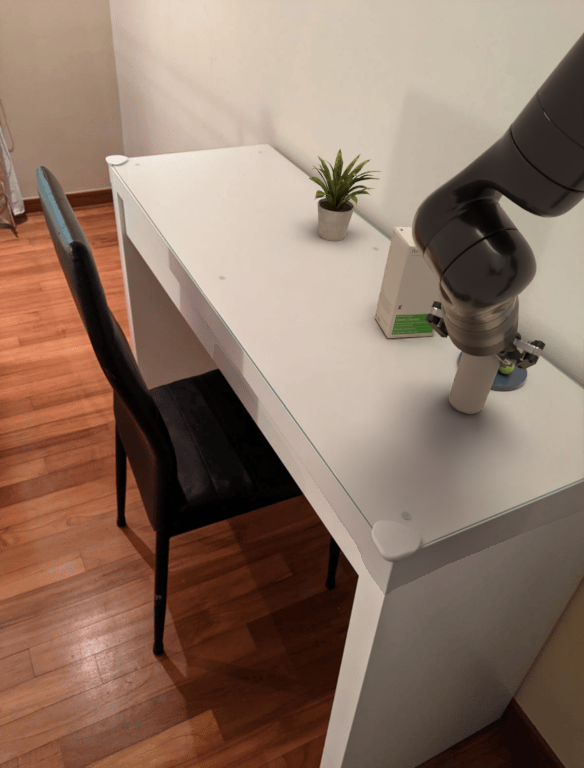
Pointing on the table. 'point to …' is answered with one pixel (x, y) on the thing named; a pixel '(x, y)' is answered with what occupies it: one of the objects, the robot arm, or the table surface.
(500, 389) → the grapes
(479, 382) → the beverage can
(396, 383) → the table surface
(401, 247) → the cosmetic box
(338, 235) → the house plant
